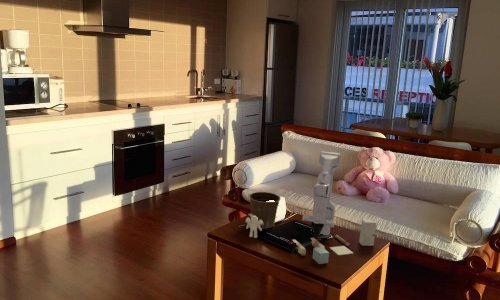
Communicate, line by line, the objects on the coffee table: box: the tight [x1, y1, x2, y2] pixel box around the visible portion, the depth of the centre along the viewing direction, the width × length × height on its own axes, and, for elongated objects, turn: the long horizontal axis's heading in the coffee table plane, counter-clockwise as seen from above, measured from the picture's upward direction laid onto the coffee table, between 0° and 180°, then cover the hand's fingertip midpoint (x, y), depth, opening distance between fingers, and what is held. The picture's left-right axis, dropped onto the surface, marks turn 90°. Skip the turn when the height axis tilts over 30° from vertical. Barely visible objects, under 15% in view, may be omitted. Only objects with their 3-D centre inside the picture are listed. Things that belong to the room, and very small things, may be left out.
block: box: [312, 247, 330, 265], centre depth 199 cm, size 6×4×5 cm
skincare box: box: [358, 219, 377, 247], centre depth 219 cm, size 6×4×12 cm
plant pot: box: [248, 191, 281, 230], centre depth 233 cm, size 16×16×16 cm
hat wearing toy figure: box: [245, 213, 263, 239], centre depth 219 cm, size 9×4×12 cm, turn 74°
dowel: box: [334, 234, 350, 247], centre depth 220 cm, size 12×2×2 cm, turn 21°
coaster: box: [329, 245, 354, 256], centre depth 210 cm, size 8×8×1 cm
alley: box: [291, 236, 326, 256], centre depth 210 cm, size 11×12×3 cm
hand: (316, 238), depth 202 cm, fingers closed
